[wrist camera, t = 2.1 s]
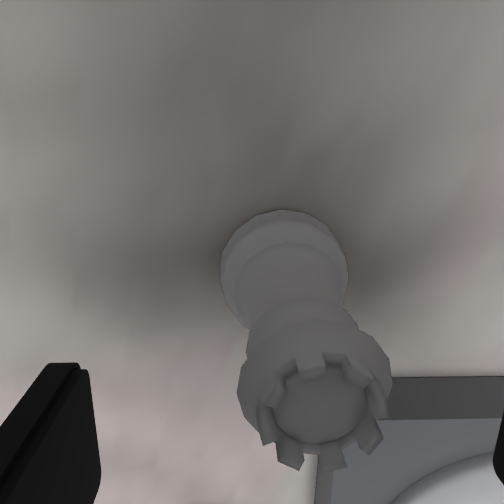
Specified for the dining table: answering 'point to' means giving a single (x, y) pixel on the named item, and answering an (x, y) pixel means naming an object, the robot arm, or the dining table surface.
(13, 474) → the robot arm
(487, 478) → the scale
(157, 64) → the dining table surface
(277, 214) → the rook chess piece
